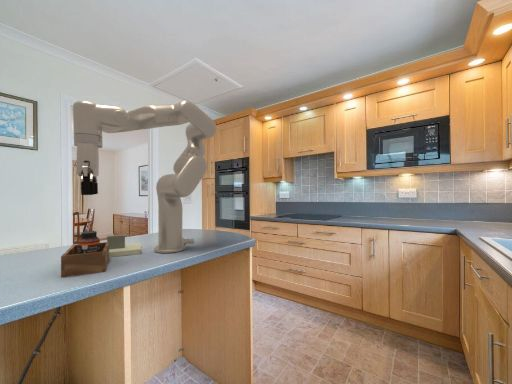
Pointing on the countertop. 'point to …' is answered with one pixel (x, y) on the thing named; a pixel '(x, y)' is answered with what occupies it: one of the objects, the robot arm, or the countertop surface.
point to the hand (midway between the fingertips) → (90, 194)
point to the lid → (122, 246)
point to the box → (84, 261)
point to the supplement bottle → (88, 243)
